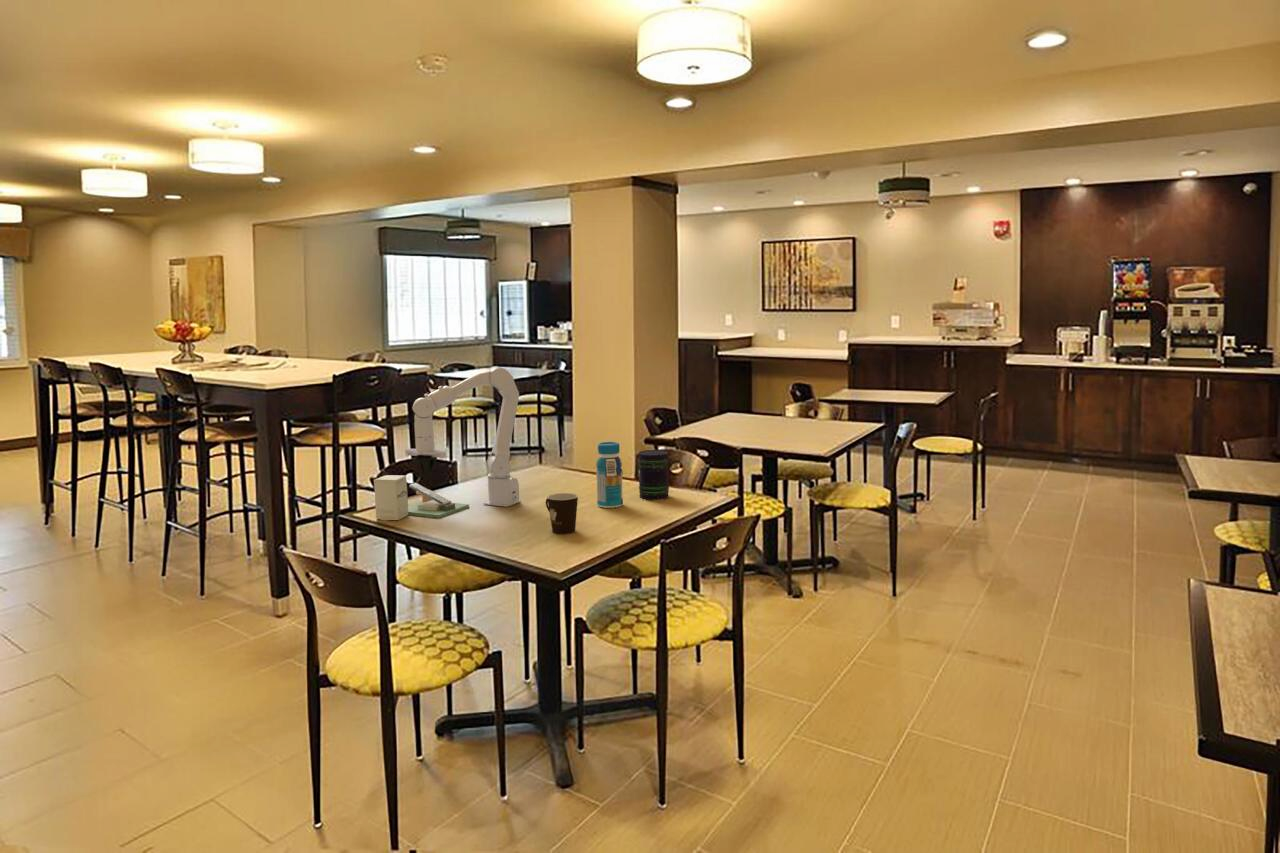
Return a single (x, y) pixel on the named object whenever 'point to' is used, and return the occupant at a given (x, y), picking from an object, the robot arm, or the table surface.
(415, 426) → the robot arm
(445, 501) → the grey flat bar
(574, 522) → the coffee mug
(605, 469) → the beverage bottle
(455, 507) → the board
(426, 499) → the lug
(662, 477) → the storage jar
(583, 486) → the table surface
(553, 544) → the table surface
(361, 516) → the table surface
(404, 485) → the supplement box
